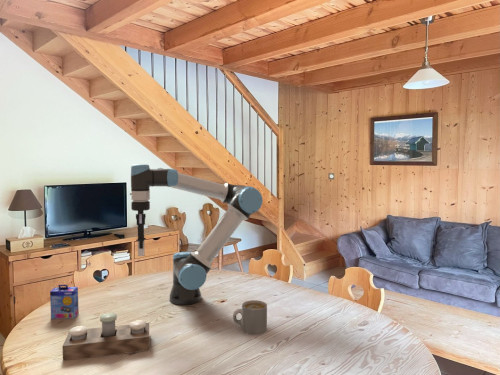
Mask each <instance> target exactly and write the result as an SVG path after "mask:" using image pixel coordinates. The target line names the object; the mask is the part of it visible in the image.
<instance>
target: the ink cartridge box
mask: <svg viewBox="0 0 500 375" xmlns="http://www.w3.org/2000/svg"><path fill="white" fill-rule="evenodd" d="M49 296H50V298H49V299H50V320H57V319H58V320H61V319H63V320H66V319H72V320H73V319H75V318H76V317H77V316H78V315H79V314H80V313H79V312H80V308H79V287H78V286H68V285H67V284H58V286H57V287H54V288H52V289H51V290H50V291H49Z"/></svg>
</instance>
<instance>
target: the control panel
mask: <svg viewBox="0 0 500 375" xmlns="http://www.w3.org/2000/svg"><path fill="white" fill-rule="evenodd" d="M85 337H86V339H83V340H73V341H72V336H71V335H70V330H69V331H68V334H66V337H65V339H64V342H63V344H62V347H61V348H62V361H71V360H80V359H88V358H94V357H95V358H96V357H103V356H105V357H106V356H113V355H120V354H131V353H137V352H138V353H139V352H146V351H148V352H149V351H150V322H146V327H145V328H144V333H139V334H132V329H130V324H124V325H123V324H121V325H115V335H114V336H111V337H102V326H101V327H92V328H87V333H85Z"/></svg>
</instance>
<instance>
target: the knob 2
mask: <svg viewBox="0 0 500 375" xmlns="http://www.w3.org/2000/svg"><path fill="white" fill-rule="evenodd" d="M146 323H147V321H146V320H141V319H139V320H133V321H130V323H129V325H130V329H132V334H139V333H144V328H145V327H146Z"/></svg>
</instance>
